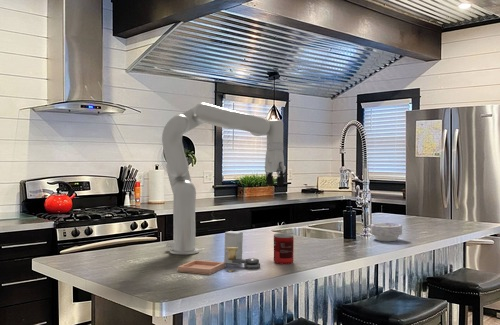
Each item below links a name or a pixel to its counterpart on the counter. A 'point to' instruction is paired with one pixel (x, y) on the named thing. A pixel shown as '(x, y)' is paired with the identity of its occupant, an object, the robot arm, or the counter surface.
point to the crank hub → (251, 266)
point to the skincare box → (233, 244)
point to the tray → (201, 267)
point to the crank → (233, 257)
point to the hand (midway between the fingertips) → (274, 185)
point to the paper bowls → (386, 231)
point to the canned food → (283, 248)
